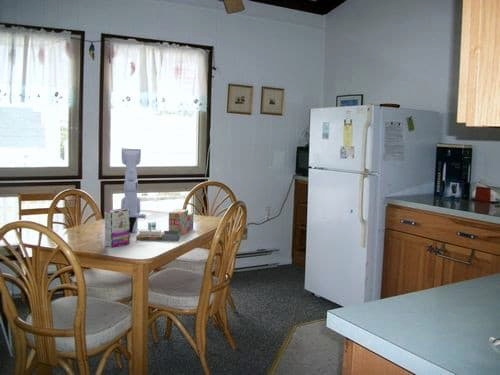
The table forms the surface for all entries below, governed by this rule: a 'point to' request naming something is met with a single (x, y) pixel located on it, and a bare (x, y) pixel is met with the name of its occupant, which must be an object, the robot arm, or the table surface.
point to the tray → (171, 236)
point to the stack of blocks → (180, 221)
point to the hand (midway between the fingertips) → (130, 232)
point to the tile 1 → (144, 232)
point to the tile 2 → (156, 232)
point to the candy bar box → (117, 227)
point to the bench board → (149, 237)
